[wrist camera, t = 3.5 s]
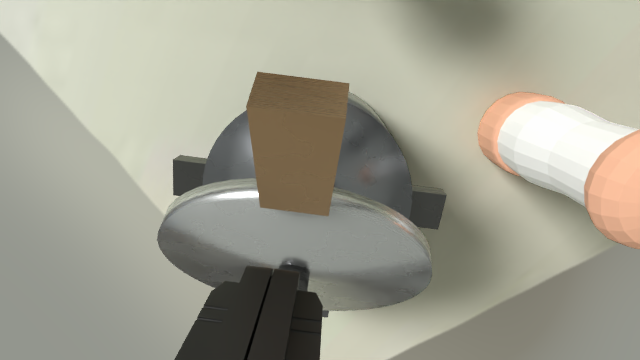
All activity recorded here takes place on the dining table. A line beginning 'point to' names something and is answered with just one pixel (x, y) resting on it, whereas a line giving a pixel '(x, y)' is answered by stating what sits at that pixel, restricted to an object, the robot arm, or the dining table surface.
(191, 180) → the cooker pot
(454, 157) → the dining table surface
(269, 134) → the cooker lid
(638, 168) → the pepper shaker
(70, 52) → the dining table surface
